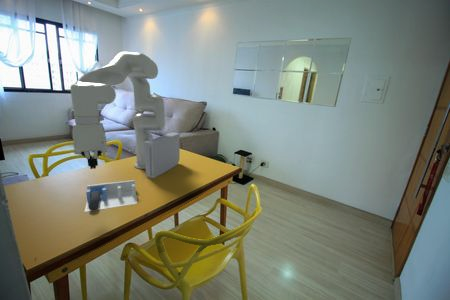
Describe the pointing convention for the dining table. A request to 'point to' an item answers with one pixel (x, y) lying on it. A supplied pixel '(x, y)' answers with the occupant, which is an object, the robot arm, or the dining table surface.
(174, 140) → the game console
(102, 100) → the robot arm
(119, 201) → the white holder rack
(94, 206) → the cylinder
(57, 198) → the dining table surface
